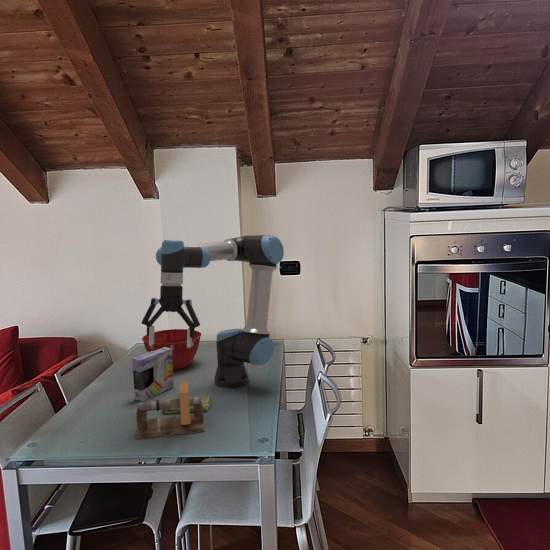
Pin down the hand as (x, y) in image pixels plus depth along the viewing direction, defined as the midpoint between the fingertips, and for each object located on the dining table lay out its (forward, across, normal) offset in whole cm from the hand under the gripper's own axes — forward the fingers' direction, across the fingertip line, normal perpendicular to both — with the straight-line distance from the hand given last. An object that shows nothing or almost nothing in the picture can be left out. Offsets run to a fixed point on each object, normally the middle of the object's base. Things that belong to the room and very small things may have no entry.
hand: (170, 346), depth 168 cm
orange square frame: (+25, +6, 0) cm, 25 cm away
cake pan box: (+26, -17, +30) cm, 43 cm away
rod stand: (+28, +2, -2) cm, 28 cm away
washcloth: (+27, +1, +17) cm, 32 cm away
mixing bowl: (+24, -22, +68) cm, 75 cm away
